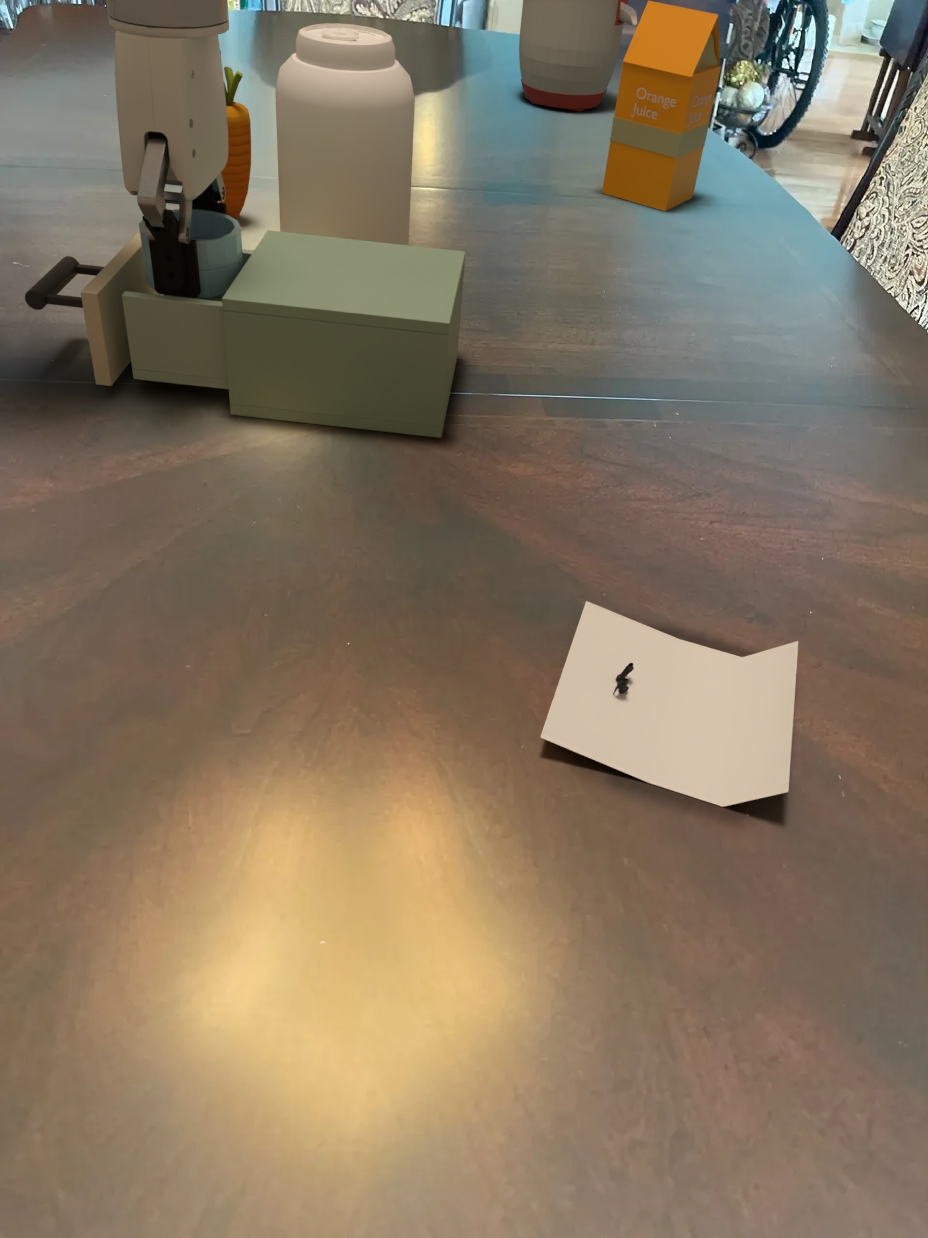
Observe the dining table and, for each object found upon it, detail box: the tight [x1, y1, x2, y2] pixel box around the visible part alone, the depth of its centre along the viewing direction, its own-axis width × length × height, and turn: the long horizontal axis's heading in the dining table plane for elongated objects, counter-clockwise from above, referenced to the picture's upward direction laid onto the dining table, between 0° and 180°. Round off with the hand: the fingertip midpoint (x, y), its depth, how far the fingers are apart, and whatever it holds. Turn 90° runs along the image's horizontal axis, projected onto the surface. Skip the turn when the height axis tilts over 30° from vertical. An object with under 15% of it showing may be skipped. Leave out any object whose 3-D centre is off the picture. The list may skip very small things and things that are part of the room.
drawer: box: [24, 230, 255, 390], centre depth 78 cm, size 20×13×7 cm, turn 85°
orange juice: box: [601, 0, 722, 212], centre depth 118 cm, size 8×9×20 cm
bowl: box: [138, 208, 243, 300], centre depth 75 cm, size 7×7×4 cm
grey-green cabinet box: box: [222, 229, 466, 439], centre depth 78 cm, size 16×14×9 cm
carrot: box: [218, 66, 252, 221], centre depth 101 cm, size 5×5×15 cm
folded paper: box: [540, 600, 799, 808], centre depth 54 cm, size 12×12×2 cm
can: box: [274, 22, 416, 246], centre depth 94 cm, size 12×12×20 cm
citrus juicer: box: [518, 0, 638, 112], centre depth 150 cm, size 16×17×20 cm
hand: (193, 272), depth 76 cm, fingers closed on bowl, 7 cm apart
